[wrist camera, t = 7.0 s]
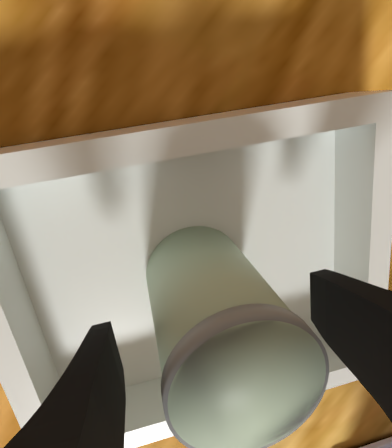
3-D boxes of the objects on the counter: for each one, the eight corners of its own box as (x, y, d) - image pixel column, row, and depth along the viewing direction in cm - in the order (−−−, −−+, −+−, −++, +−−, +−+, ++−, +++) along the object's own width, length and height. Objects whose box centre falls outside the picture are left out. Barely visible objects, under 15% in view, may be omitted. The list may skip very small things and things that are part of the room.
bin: (349, 92, 15) (402, 89, 12) (344, 334, 19) (381, 372, 17) (-48, 155, 12) (-96, 169, 10) (54, 415, 17) (42, 475, 14)
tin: (241, 217, 15) (334, 301, 9) (244, 305, 17) (324, 432, 10) (137, 232, 14) (153, 337, 8) (150, 323, 16) (172, 474, 9)
